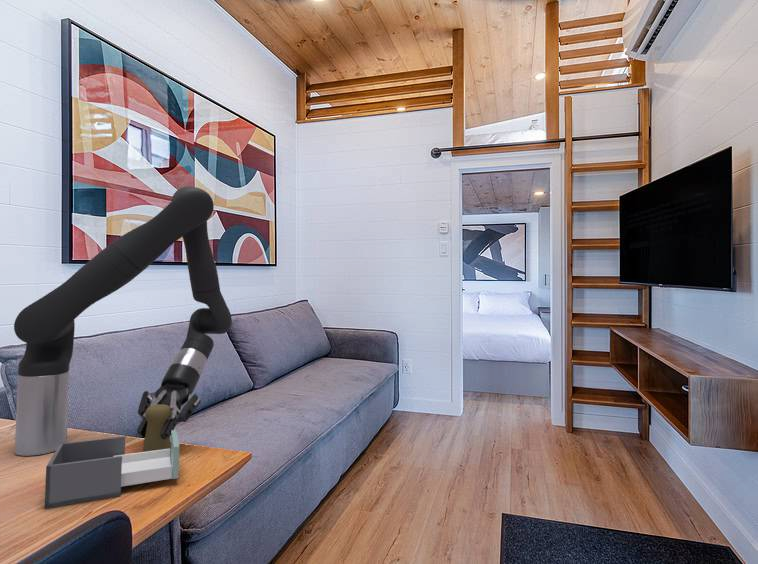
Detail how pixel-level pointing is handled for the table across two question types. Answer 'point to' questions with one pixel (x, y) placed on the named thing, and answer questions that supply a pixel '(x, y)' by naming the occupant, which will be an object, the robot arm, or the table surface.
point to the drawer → (151, 464)
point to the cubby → (84, 472)
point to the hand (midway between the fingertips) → (152, 436)
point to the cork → (156, 428)
